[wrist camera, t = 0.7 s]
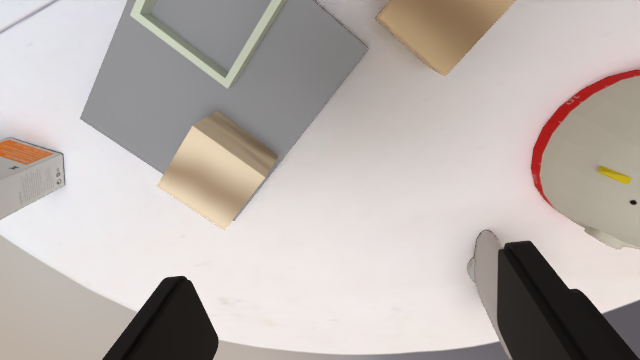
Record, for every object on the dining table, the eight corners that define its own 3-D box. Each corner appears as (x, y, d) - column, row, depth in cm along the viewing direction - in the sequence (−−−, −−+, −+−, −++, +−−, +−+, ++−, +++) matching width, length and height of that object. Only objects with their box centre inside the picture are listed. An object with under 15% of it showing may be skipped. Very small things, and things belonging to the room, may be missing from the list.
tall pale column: (464, 229, 34) (610, 509, 14) (507, 224, 33) (722, 513, 14) (469, 303, 38) (586, 598, 19) (506, 300, 38) (670, 605, 18)
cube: (429, -53, 24) (449, -74, 19) (484, 2, 25) (518, -3, 20) (374, 18, 27) (379, 17, 21) (428, 66, 28) (444, 76, 22)
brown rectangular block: (217, 110, 30) (192, 125, 26) (278, 155, 31) (265, 177, 27) (184, 163, 33) (156, 186, 28) (241, 203, 34) (224, 230, 30)
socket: (189, -98, 24) (179, -105, 22) (292, -10, 25) (288, -12, 24) (141, 15, 27) (129, 15, 26) (233, 85, 29) (227, 88, 28)
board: (183, -112, 24) (175, -118, 23) (368, 47, 28) (368, 48, 27) (88, 115, 33) (80, 118, 32) (237, 215, 36) (234, 221, 35)
